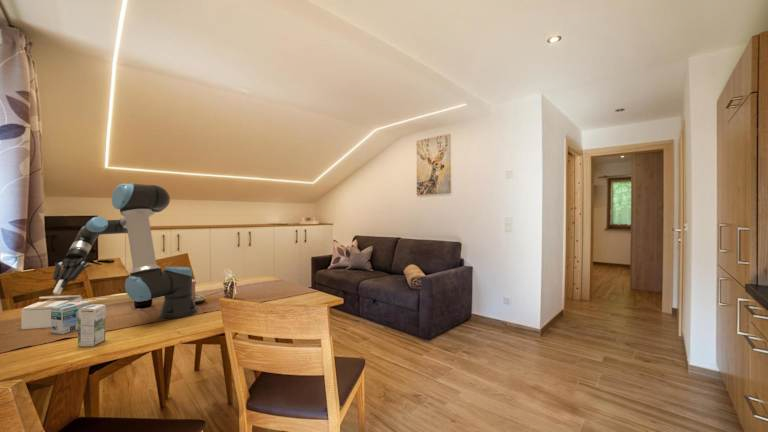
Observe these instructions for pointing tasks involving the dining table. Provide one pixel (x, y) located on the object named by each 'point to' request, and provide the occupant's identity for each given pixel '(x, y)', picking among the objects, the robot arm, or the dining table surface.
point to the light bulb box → (66, 317)
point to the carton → (42, 313)
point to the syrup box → (91, 325)
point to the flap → (60, 296)
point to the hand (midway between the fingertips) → (56, 293)
